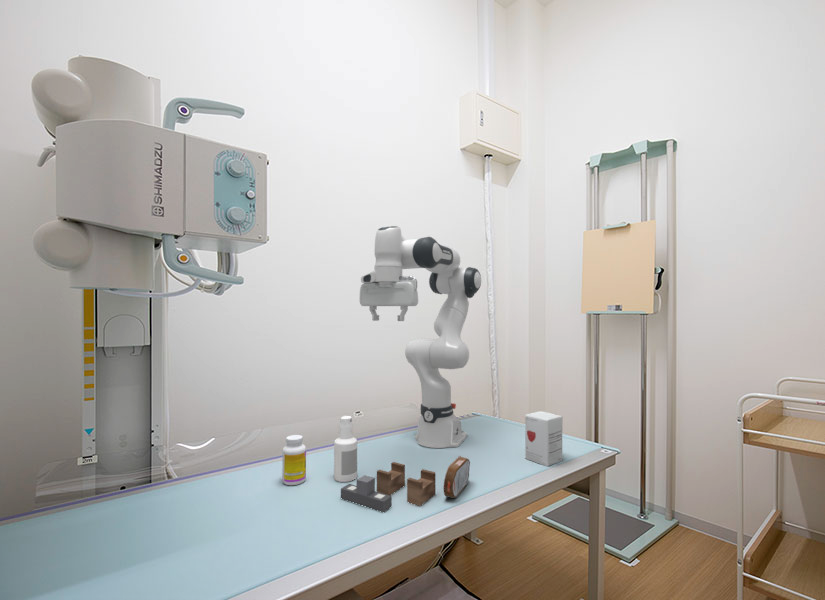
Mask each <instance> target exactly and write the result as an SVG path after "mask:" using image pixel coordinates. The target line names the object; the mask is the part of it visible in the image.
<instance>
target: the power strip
mask: <svg viewBox="0 0 825 600" xmlns="http://www.w3.org/2000/svg"><path fill="white" fill-rule="evenodd" d="M341 498H342V499H344V500H343V501H345V500H348V501H351V502H354V503H353V504H355V503H357V504H356V505H358V504H360V505H359V506H361V505H363V506H362V507H364V506H366V507H365V508H367V507H369V508H368V509H370V508H372V509H371V510H373V509H375V510H374V511H377V510H378V511H377V512H380V511H381V512H380V513H383V512H384V513H386V512H387V511H389V510H390V509H391V508H392V507H393V506H392V505H393V502H392V501H393V500H392V499H393V497H392V495H386V494H383V493H379V492H377V490H376V478H375V477H374V476H370V475H362V476H361V477H359V478H358V479H357V478H356V485H355V484H351V483H348V484H346V485H345V486H343V487H342V488H340V499H341ZM342 499H341V500H342ZM348 501H347V502H348ZM351 502H350V503H351ZM391 506H392V507H391ZM390 507H391V508H390ZM389 508H390V509H389ZM386 510H387V511H386ZM385 511H386V512H385Z"/></svg>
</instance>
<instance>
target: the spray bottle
mask: <svg viewBox="0 0 825 600" xmlns="http://www.w3.org/2000/svg"><path fill="white" fill-rule="evenodd" d="M339 420H340V421H339V426H338V428H339V429H338V437H337V438H336V439H335V440H334V443H333V479H334V480H335V481H336V482H338V481H339V482H340V483H348V482H352V480H353V481H354V479H355V480H357V477H358V440H357V438H356V437H354V436H353V435H354V434H353V433H354V432H353V422H352V420H353V419H352V416H350V415H342V416H341V417H340V418H339Z"/></svg>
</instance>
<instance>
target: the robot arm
mask: <svg viewBox="0 0 825 600" xmlns="http://www.w3.org/2000/svg"><path fill="white" fill-rule="evenodd" d="M374 256H375V257H374V258H375V264H374V269H373V271H371V272H369V273H366V274H364V275H362V276H361V277H360V282H361V283H362V284H360V288H359V304H360V305H361V306H362V307H369V311H370V314H371V315H372V321H373V322H374V321H377V322H378V321H380V315H379V314H377V308H378V307H400V311H401V312H400V314H399V315H397V317H396V318H397V321H398V322H405V315H406V314H407V312H408V310H409V309H408V308H409V307H416V306H418V304H419V293H418V280H417V278H415V277H414V276H413V275H409V276H406V275H404V276H403V270H410V269H411V270H413V269H425V270H426V271H428V272H430V276H429V279H428V284H429V287H430V289H431V291H432V292H433V293H435V294H436V295H437V294H438V295H447V297H446V299H445V301H444V302H443V304H442V305H441V307H440V310H439V311H438V314H437V316H436V318H435V320H434V323H433V329H434V332H435V334H437V336H438V337H439V338H423V337H422V338H421V337H420V338H417V339H412V340H410V341H409V342H408V343H407V344H406V347H405V349H404V350H405V351H404V355H405V358H406V361H407V362H408V363H409V364H410V365H411V366H412V367H413V369H414V370H415V371H416V373H417V376H418V378H419V382H420V386H421V404H420V409H419V410H420V415H419V417H418V419H417V421H418V422H417V430H416V432H417V433H416V434H415V435H414V439H415V440H417V441H416V442H417V444H419V445H421V446H422V447H426V448H432V449H434V448H435V449H445V448H458V447H460V446H461V444H462V443H463V442H464V441H465V440H466V439H467V437H468V433H467V432H466V431H463V428H462V427H463V426H462V421H461V420H460V419H459V418H458V417H457V416H455V414H454V410H455V409H456V407H457V405H456V403H453V402H452V399H451V398H452V386H451V383H450V382H449V380H448V379H446V378H445V377H444V376H442V374H441V373H440V371H439V370H440V369H442V370H443V369H444V370H458V369H462V368H465V366H467V364H468V362H469V359H470V351H469V348H468V345H467V344H466V343H465V342H463V340H462V338H461V333H462V330H463V328H464V324H465V321H466V319H467V315H468V312H469V306H470V305H469V304H470V303H469V302H470V301H469V300H468V299H472V298H473V297H474V296H475V294H476V293H477V292H478V291H479V290H480V288H481V286H482V276H481V273H480V271H479V270H478V268H476V267H471V266H468V267H461V266H460V263H461V256H460V255H459V252H457V250H455V249H454V248H451V247H449V246H447V245H442V244H440V243H438V241H437V240H436V239H435V238H433V237H431V236H427V237H420V238H413V239H406V238H404V236H403V235H402V231H401V227H399V226H396V225H391V226H385V227H384V226H383V227H380V228H377V230H376V233H375V239H374Z"/></svg>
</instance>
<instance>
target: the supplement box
mask: <svg viewBox="0 0 825 600" xmlns="http://www.w3.org/2000/svg"><path fill="white" fill-rule="evenodd" d="M524 419H525V423H524V424H525V430H524V432H525V434H524V435H525V443H524V444H525V446H524V448H525V449H524V451H525V453H524V454H525V455H524V456H525V457H524V459H525V460H528V461H532V462H534V463H537V464H539V465H542V466H546V467H550V466H552V465H554V464H557V463H559V462H562V461H563V416H562V415H558V414H554V413H551V412H547V411H542V410H539V411H535V412H531V413H527V414H525V416H524Z"/></svg>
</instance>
